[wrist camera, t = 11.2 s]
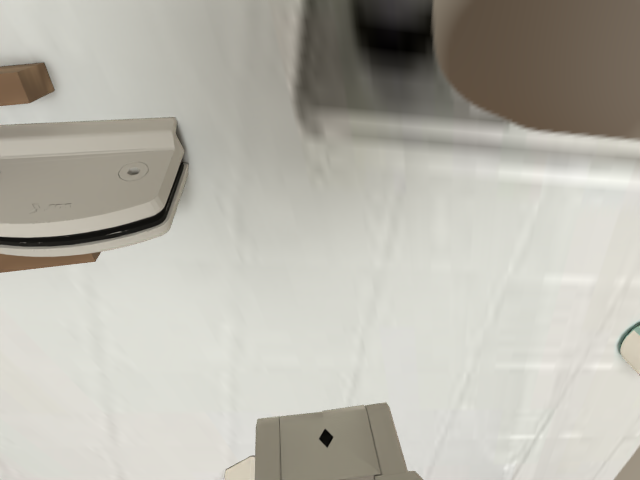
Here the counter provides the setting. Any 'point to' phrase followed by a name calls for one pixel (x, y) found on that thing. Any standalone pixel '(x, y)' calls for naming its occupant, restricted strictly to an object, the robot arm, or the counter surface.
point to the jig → (20, 89)
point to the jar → (242, 470)
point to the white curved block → (87, 185)
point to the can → (632, 349)
